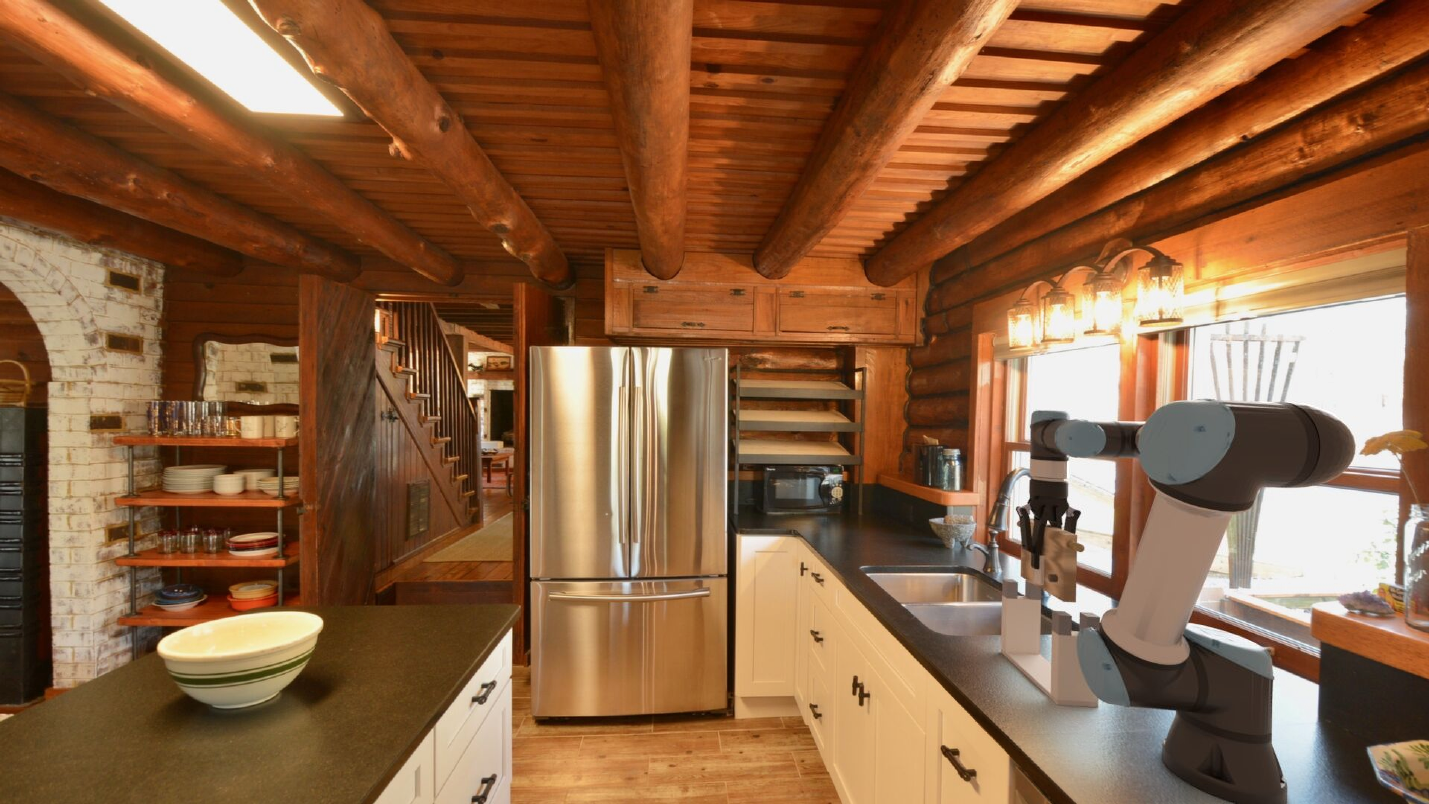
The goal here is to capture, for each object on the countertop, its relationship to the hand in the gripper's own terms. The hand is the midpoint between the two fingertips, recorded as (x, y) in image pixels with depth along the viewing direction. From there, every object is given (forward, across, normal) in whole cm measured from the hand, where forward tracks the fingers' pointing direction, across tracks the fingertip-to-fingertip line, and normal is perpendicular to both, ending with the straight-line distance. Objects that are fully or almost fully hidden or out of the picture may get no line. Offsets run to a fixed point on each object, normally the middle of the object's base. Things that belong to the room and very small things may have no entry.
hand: (1046, 583), depth 124 cm
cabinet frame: (+21, 0, 0) cm, 21 cm away
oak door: (+1, 0, 0) cm, 1 cm away
